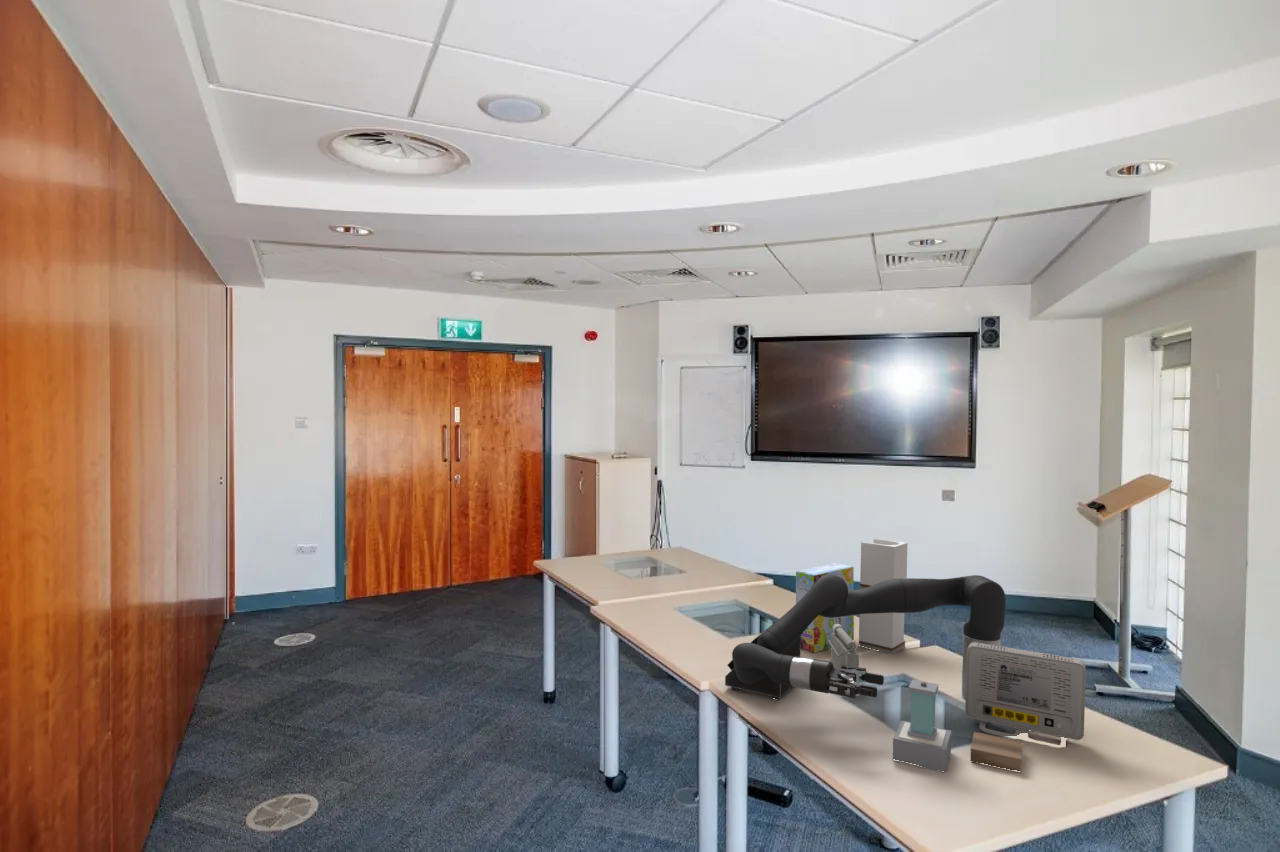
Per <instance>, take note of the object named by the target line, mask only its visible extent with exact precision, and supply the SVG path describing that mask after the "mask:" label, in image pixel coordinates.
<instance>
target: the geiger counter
mask: <svg viewBox="0 0 1280 852" xmlns="http://www.w3.org/2000/svg"><path fill="white" fill-rule="evenodd" d="M832 630H833V632H834V633H832V635H831V642H830V640H828V646H829V648H828V650H829V652H830V661H831V662H832V663H833V667H834V669H836V670H837V669H838V670H840V669H841V666H842V665H846V666H853V667H859V666H860V654H859V652H858V651H857V650H856V649H857V644H856V643H855V641H854V640H852V639H851V636H850V637H849V636H848V634H847V633H846V632H845V631H844V628H843V627H842V626H841V625H840V624H834V625H833V628H832ZM829 643H830V644H829ZM830 645H831V648H830Z"/></svg>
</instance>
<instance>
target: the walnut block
mask: <svg viewBox="0 0 1280 852" xmlns="http://www.w3.org/2000/svg"><path fill="white" fill-rule="evenodd" d="M970 746H971V747H970V761H973V762H978V763H984V764H988V765H991V766H996V767H1000V768H1006V769H1010V770H1017V771H1022V754H1023V753H1022V751H1023V748H1022V747H1023V741H1021V740H1017V739H1012V738H1008V737H1003V736H998V735H993V734H989V733H982V732H977V731H973V735H972V742H971V745H970ZM973 762H972V763H973ZM978 763H977V764H978ZM991 766H990V767H991ZM996 767H995V768H996ZM1000 768H999V769H1000Z"/></svg>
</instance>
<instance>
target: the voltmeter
mask: <svg viewBox="0 0 1280 852" xmlns="http://www.w3.org/2000/svg"><path fill="white" fill-rule="evenodd" d="M759 636H760V634H759V635H757V636H756V637H755V638H754V639H753V640H752V641H750V643H754V644H757V640H758V637H759ZM782 655H789V656H795V657H801V636H800V637H799V638H798V639H797V640H796V641H795V642H794V643H793V644H792V645H791V646H790V647H789V648H788V649H786V650H785V651H784V652H783V653H782ZM727 667H728V668H729V670H730V671H729V672H728V673H727V674H726V675H725V677H724V679H725V680H724V685H725V686H726V687H729V688H730V689H731V690H732V691H734V692H737V691H739V690H742V691H744V690H745V691H748V692H751V693H757V694H762V695H766V696H770V697H771V699H772V698H775V699H779V698H782V697H783V696H784V695H785V694H786V693H787V692H788V691H789V690H790V689H792V688H793V686H790V685H784V684H779V683H775V682H773V681H771V679H770V678H769V676H768V675H767V674H765V676H764V677H763V678H762V679H760V680H759V681H757V682H755V683H752V684H746V683H743V682H741V681H740V680H739V679H738V677H737V675H736V671H735V667H734V663H733V659H732V660H731V661H729V663H728V664H727ZM779 700H780V699H779Z"/></svg>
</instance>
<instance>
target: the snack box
mask: <svg viewBox="0 0 1280 852" xmlns="http://www.w3.org/2000/svg"><path fill="white" fill-rule="evenodd" d="M854 569H855V568H854V566H852V565H848V564H847V565H846V564H843V563H842V564H841V563H835V562H834V563H830V564H826V565H820V566H815V567H809V568H807V569H806V568H805V569H801V570H797V571H795V605H796V604H797V603H798V602H799V601H800V600H801V599H802V598H803V597H804V595H805V594H806V593H807V592H808V591H809V590H810V589H811V587H812V586H813V585H814V584H815V582H816V581H817V580H818V579H819V578H820V577H822V576H824V575H827V574H834V575H837V576H839V577H841V578H842V579H843V580H844V581H845V582H846V584H847V586H848V590H855V589H854V588H855V587H854V580H855V579H854V575H855V574H854ZM854 618H855V615H850V616H842V617H834V618H829V617H823V616H820V615H819V616H817V617H816V618H815V619H814V620H813V621H812V623H811V624H810V625H809V626H808V627H807V628H806V630H805V631H804V632H803V633H802V635H801V648H802V650H804V649H805V650H804V651H807V650H808V652H810V651H812V652H811V653H813V652H816V653H818V652H821V651H823V650H827V649H829V646H828V640H830V642H831V635H832V633H834V632H833V630H832V628H833V625H834V624H840V625H841V626H842V627H843V628H844V631H845V632H846V633H847V634H848V636H849V637H850V636H851V639H852V640H853V641H854V640H855V633H854V632H855V627H854V625H855V619H854ZM829 644H830V643H829ZM830 647H831V645H830Z"/></svg>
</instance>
